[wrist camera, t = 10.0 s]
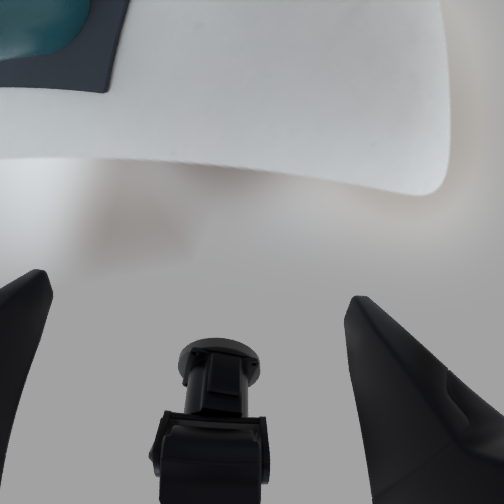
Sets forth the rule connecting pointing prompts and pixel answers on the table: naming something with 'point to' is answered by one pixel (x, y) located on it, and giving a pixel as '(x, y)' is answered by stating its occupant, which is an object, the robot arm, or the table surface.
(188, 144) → the table surface
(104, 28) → the mat
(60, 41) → the can
